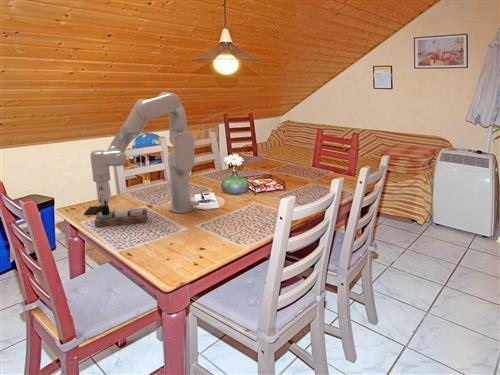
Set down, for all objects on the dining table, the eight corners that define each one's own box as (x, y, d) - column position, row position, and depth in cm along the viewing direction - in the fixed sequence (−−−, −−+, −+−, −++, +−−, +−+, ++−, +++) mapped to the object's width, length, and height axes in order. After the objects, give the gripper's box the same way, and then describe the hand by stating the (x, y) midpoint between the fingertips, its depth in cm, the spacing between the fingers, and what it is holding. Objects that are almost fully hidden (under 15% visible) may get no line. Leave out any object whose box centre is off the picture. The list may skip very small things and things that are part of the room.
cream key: (128, 213, 186) (127, 209, 185) (127, 217, 181) (127, 213, 180) (116, 214, 185) (115, 210, 184) (115, 218, 179) (114, 214, 179)
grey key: (143, 212, 188) (142, 207, 187) (142, 216, 182) (142, 211, 182) (131, 213, 186) (130, 208, 186) (130, 217, 181) (130, 212, 180)
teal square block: (113, 216, 185) (112, 211, 184) (112, 220, 179) (111, 215, 179) (101, 217, 183) (100, 212, 183) (99, 221, 178) (99, 216, 177)
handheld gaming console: (85, 205, 199) (96, 191, 198) (98, 212, 203) (108, 198, 201) (82, 216, 189) (93, 201, 188) (95, 222, 193) (106, 208, 191)
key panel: (146, 214, 192) (146, 208, 191) (146, 222, 181) (146, 216, 180) (98, 218, 186) (97, 211, 185) (95, 227, 175) (94, 220, 174)
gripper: (108, 181, 169) (112, 219, 174) (111, 172, 183) (115, 208, 188) (90, 182, 167) (95, 220, 173) (95, 173, 181) (99, 209, 187)
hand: (105, 214), depth 181 cm, fingers closed
